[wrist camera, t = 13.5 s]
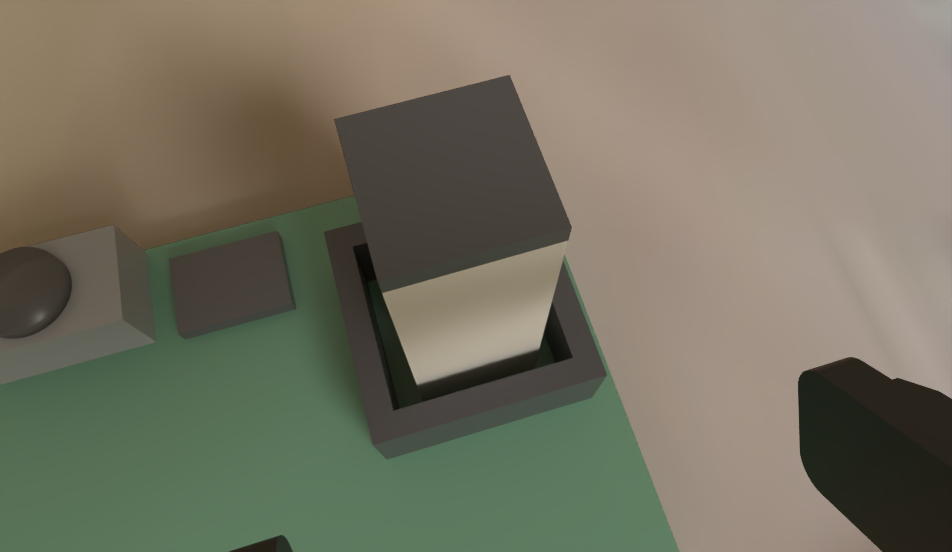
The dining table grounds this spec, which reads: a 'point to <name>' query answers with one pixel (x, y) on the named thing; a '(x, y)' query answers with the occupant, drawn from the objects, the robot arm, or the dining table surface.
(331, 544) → the board
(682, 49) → the dining table surface
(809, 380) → the robot arm
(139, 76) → the dining table surface
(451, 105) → the plug
